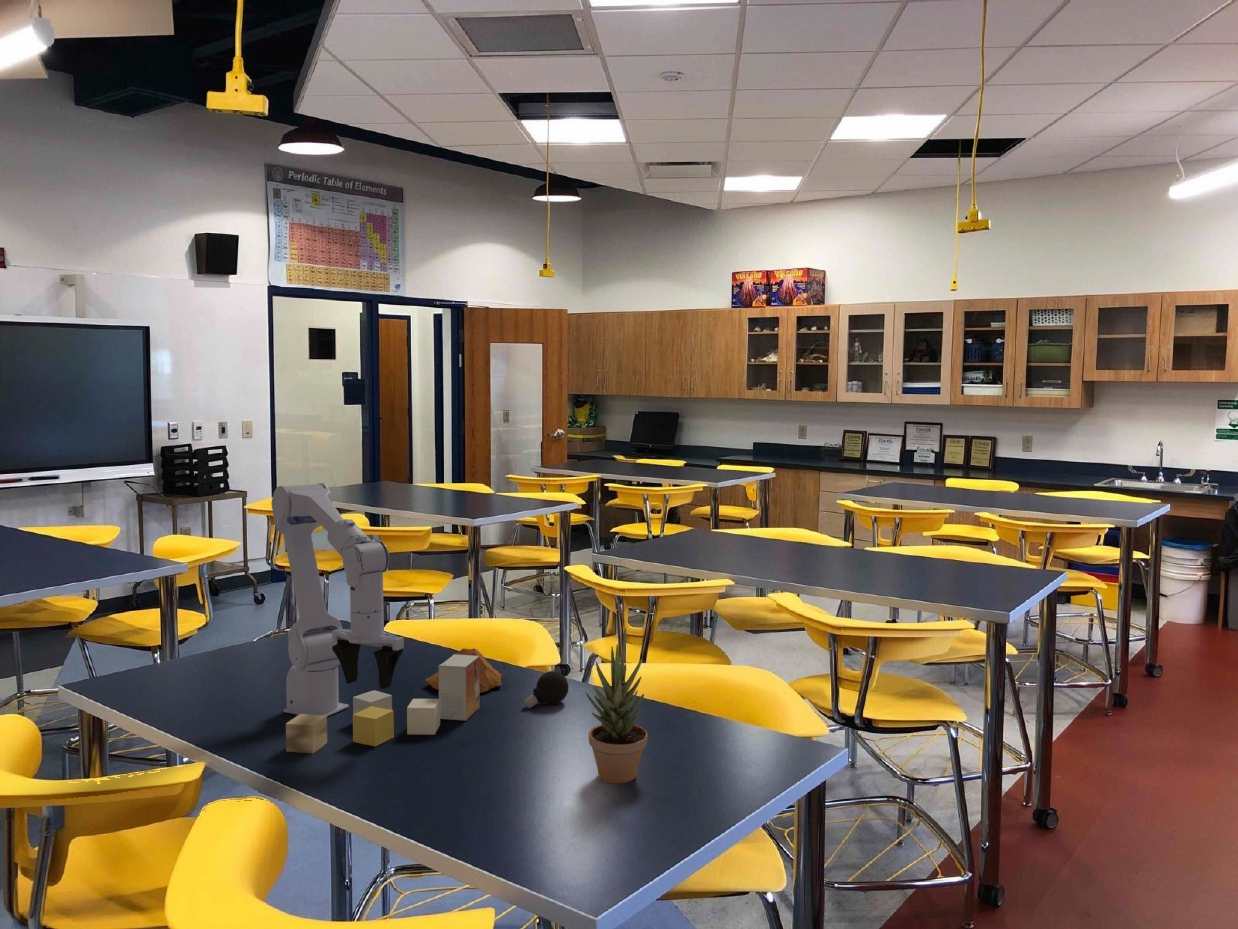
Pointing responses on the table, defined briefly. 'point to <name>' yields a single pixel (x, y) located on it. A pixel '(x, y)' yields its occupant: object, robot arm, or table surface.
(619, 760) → the potted plant
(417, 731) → the white cube
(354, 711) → the grey cube
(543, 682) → the light bulb
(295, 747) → the maple cube
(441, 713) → the small box
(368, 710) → the mustard cube
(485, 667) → the stone
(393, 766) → the table surface
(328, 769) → the table surface
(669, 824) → the table surface
